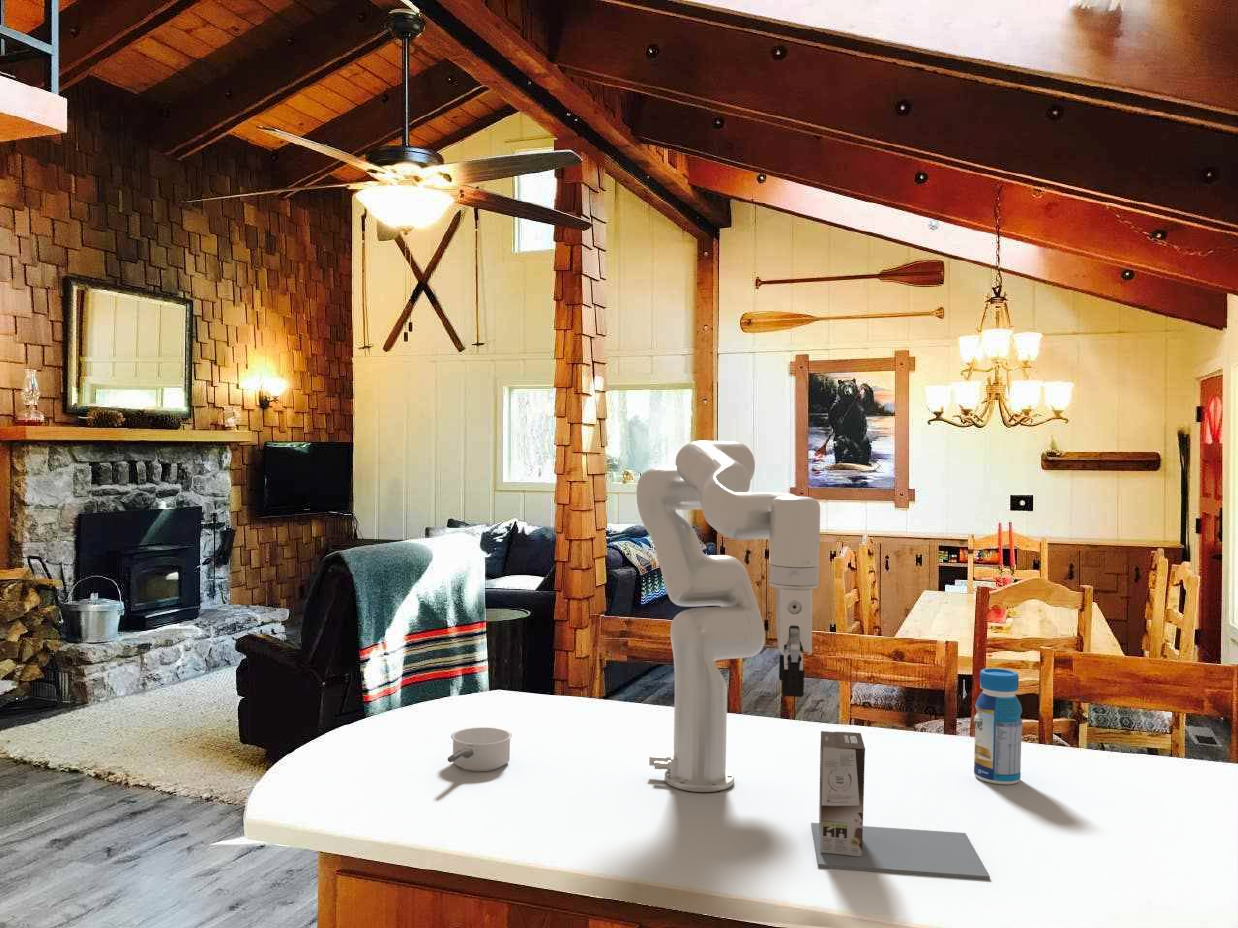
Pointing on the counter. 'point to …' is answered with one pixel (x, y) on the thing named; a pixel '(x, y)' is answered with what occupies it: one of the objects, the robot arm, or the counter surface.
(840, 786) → the coffee box
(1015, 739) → the beverage bottle
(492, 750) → the saucepan
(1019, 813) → the counter surface
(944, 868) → the slate mat
